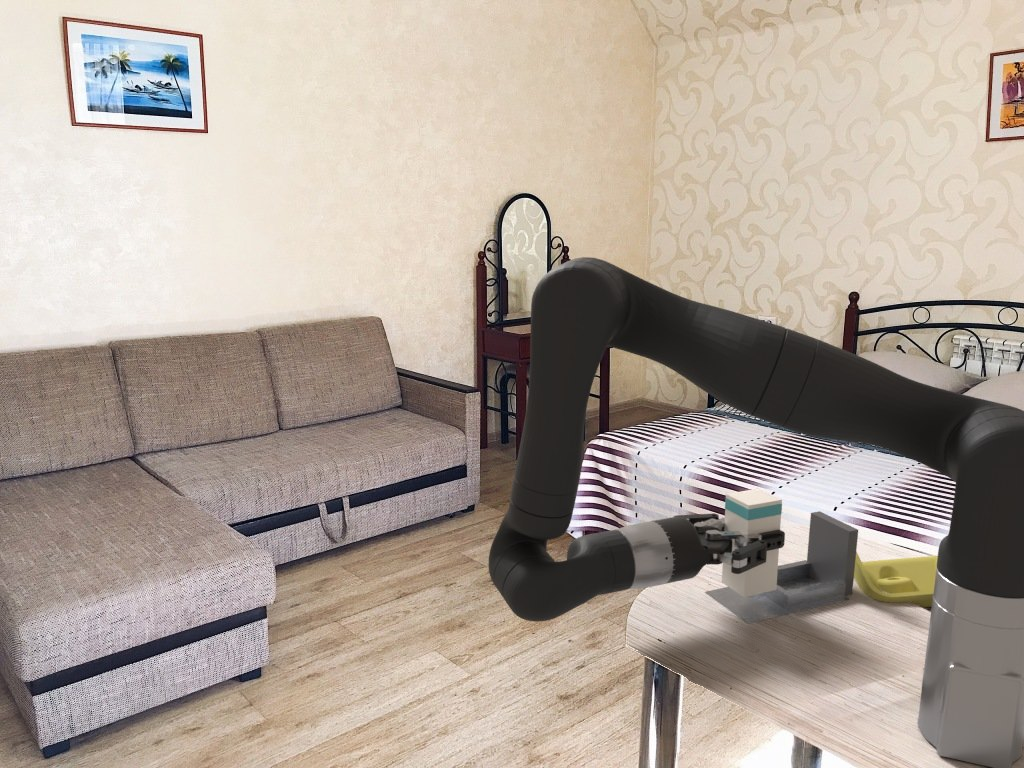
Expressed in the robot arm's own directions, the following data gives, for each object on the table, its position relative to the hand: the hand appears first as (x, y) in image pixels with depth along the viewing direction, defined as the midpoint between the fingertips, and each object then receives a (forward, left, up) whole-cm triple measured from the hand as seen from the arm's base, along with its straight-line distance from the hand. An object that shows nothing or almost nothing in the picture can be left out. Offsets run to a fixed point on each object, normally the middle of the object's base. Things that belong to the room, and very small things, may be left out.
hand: (768, 530), depth 107 cm
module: (-2, +2, -7) cm, 7 cm away
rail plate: (+2, -1, -11) cm, 11 cm away
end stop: (+8, -8, -11) cm, 15 cm away
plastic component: (+13, -20, -11) cm, 26 cm away
